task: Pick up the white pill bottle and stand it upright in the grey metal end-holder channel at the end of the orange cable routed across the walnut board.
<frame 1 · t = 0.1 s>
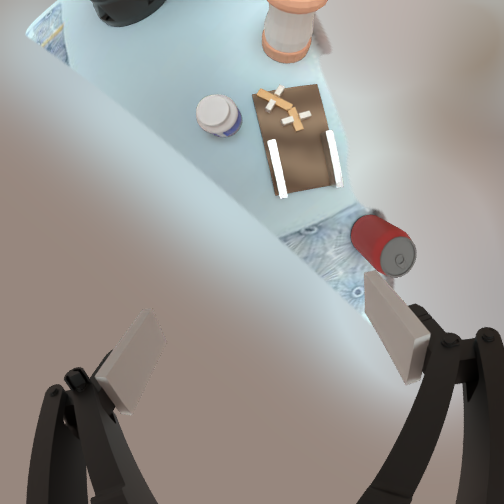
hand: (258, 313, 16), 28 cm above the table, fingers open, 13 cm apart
pepper shaker: (285, 45, 33), on the table
route board: (296, 138, 38), on the table
beer can: (367, 233, 42), on the table
end holder: (302, 163, 39), resting on route board
pill bottle: (224, 121, 38), on the table
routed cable: (284, 107, 34), on the route board, point 2 cm above the table
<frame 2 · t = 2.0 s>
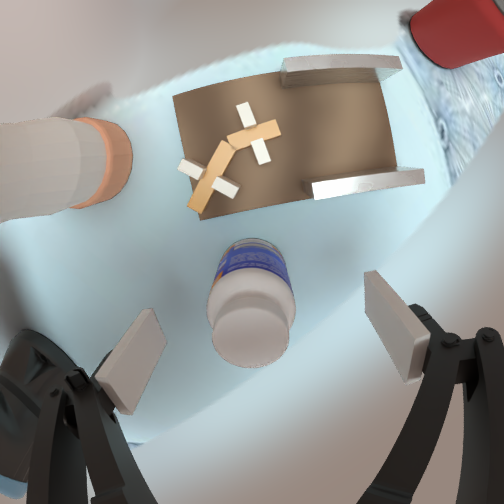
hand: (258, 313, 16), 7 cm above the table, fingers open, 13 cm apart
pepper shaker: (99, 161, 20), on the table
route board: (290, 134, 19), on the table
beer can: (433, 41, 15), on the table
end holder: (340, 128, 19), resting on route board
pill bottle: (252, 268, 23), on the table
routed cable: (229, 158, 18), on the route board, point 2 cm above the table
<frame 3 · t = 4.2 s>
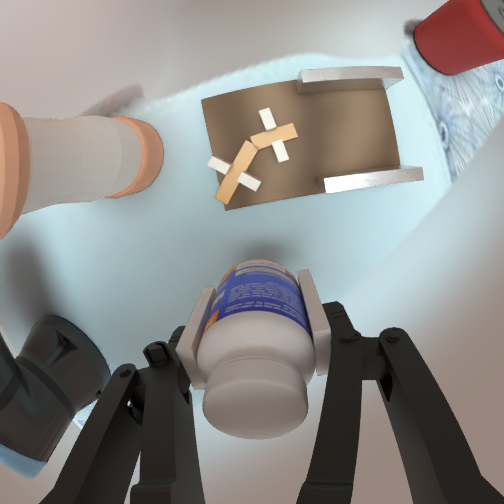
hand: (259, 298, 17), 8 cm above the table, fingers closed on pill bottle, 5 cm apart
pepper shaker: (131, 156, 23), on the table
route board: (306, 136, 21), on the table
beer can: (436, 49, 16), on the table
end holder: (349, 130, 21), resting on route board
pill bottle: (259, 294, 18), point 7 cm above the table, touching gripper
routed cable: (252, 156, 20), on the route board, point 2 cm above the table
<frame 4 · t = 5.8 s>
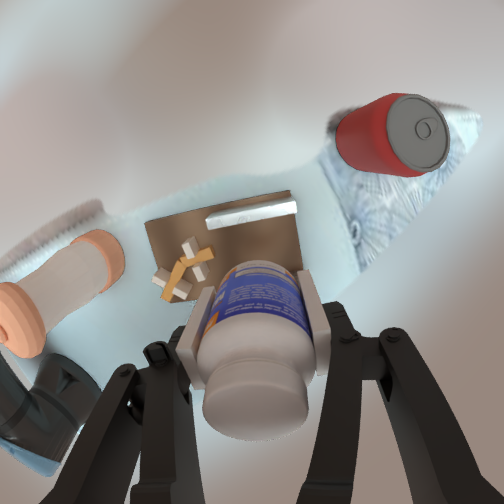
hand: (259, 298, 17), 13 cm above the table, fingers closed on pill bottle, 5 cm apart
pepper shaker: (102, 256, 31), on the table
route board: (224, 249, 30), on the table
beer can: (362, 141, 25), on the table
end holder: (260, 242, 29), resting on route board
pill bottle: (259, 295, 18), point 12 cm above the table, touching gripper
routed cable: (182, 272, 28), on the route board, point 2 cm above the table
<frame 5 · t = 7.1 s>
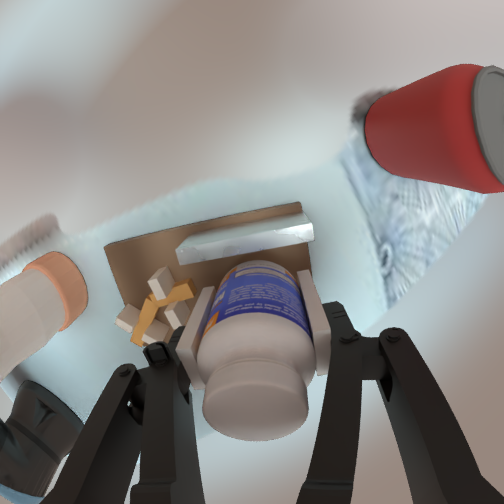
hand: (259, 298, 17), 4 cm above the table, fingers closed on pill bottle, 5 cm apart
pepper shaker: (63, 284, 23), on the table
route board: (209, 282, 22), on the table
beer can: (398, 135, 17), on the table
end holder: (258, 274, 21), resting on route board
pill bottle: (259, 295, 18), point 3 cm above the table, touching gripper
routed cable: (153, 314, 20), on the route board, point 2 cm above the table
when the fingers open (2 cm above the table, at t = 7.8 s): pill bottle stays where it is, resting on route board.
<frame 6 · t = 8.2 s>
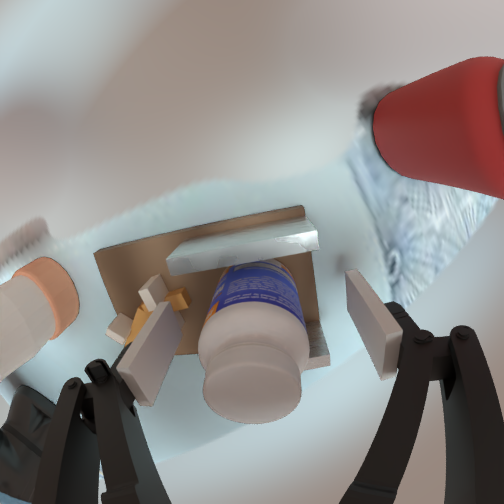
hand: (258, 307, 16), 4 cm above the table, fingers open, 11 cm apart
pepper shaker: (54, 290, 21), on the table
route board: (205, 291, 20), on the table
beer can: (407, 134, 16), on the table
end holder: (258, 283, 20), resting on route board
pill bottle: (257, 289, 19), point 1 cm above the table, touching route board
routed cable: (146, 324, 19), on the route board, point 2 cm above the table
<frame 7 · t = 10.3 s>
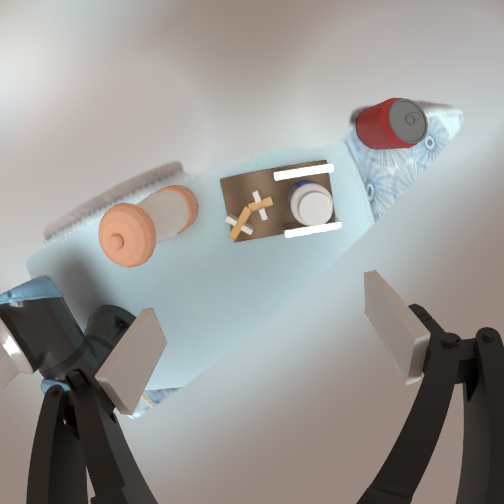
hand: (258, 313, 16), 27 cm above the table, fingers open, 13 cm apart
pepper shaker: (176, 207, 42), on the table
route board: (279, 200, 41), on the table
beer can: (374, 129, 36), on the table
end holder: (305, 196, 40), resting on route board
pill bottle: (305, 197, 39), point 1 cm above the table, touching route board
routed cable: (249, 215, 39), on the route board, point 2 cm above the table
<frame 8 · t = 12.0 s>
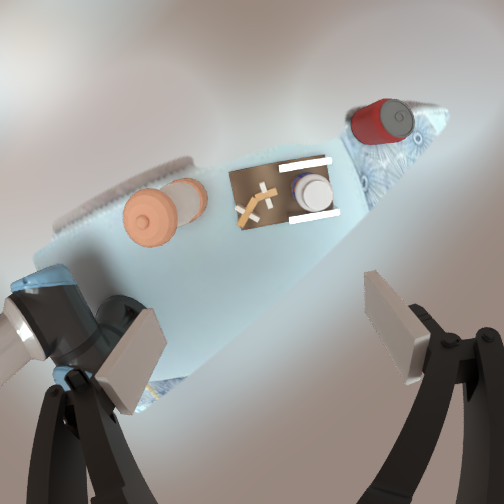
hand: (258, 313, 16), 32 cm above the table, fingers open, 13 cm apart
pepper shaker: (187, 198, 46), on the table
route board: (282, 191, 44), on the table
beer can: (367, 127, 40), on the table
end holder: (305, 187, 44), resting on route board
pill bottle: (306, 188, 43), point 1 cm above the table, touching route board
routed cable: (255, 204, 43), on the route board, point 2 cm above the table
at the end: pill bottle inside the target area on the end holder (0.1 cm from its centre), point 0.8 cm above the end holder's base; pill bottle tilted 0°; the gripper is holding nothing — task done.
